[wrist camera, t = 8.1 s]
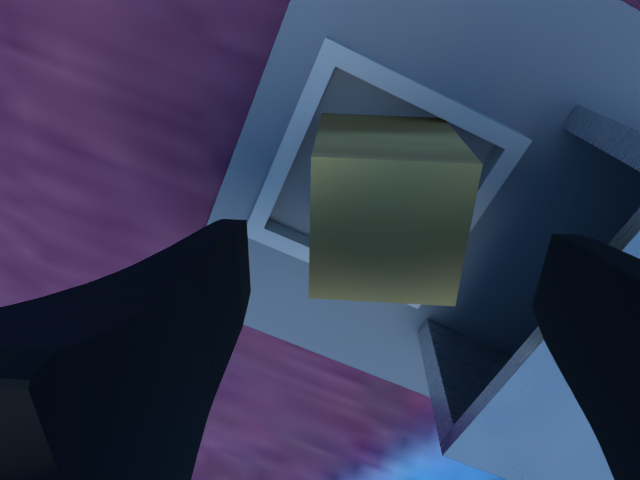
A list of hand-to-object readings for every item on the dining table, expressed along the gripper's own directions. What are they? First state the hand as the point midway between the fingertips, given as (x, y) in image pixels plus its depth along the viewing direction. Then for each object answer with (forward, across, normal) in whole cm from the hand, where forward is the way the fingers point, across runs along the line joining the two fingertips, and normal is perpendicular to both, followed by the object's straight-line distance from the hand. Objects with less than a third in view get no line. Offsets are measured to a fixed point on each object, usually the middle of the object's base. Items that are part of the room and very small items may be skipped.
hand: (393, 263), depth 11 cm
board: (+7, -3, +1) cm, 7 cm away
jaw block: (+6, 0, 0) cm, 6 cm away
